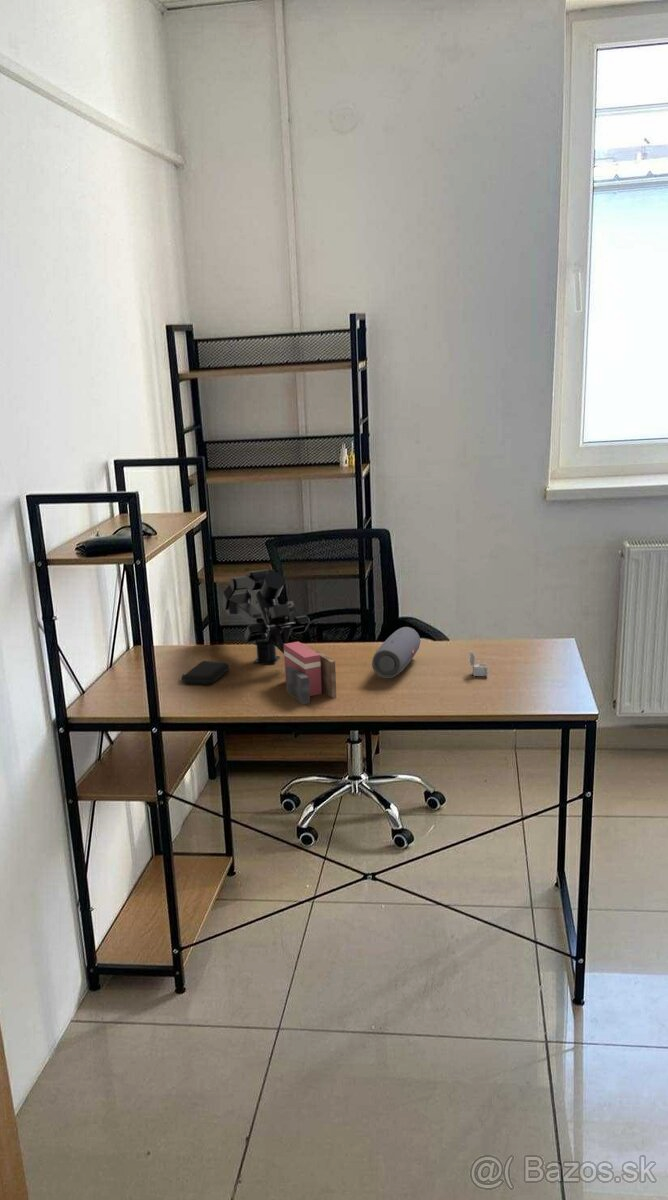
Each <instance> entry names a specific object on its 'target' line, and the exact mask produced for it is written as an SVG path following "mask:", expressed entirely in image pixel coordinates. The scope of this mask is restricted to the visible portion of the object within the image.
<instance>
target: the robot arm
mask: <svg viewBox="0 0 668 1200" xmlns="http://www.w3.org/2000/svg"><path fill="white" fill-rule="evenodd" d="M285 583H286V582H285V578H284V576H283V575H281V574H280V573H278V572H275V570H274V569H272V568H271V569H261V570H255V571H253V570H252V571H248V572H247V573H245V575H244V576H243V575H242V576H234V577H232V578H231V579H230V580H229V585H228V586H227V587H226V588H225V589H224V591H223V592H222V597H221V598H222V599H221V606H222V609H223V610H224V612H225V613H227V614H228V615H236V616H237V615H238V616H239V617H240V618H241V619H243V620H244V622H246V623H247V627H246V630H245V631H244V635H243V636H244V639H245V642H246V643H251V644H253V645H254V646H256V647H255V648H256V658H255V659H254V660H253V664H258V665H259V664H260V665H274V664H276V663H277V662H278V660H279V659H280V658H281V656H280V655H277V651H276V650H277V649H278V650H279V651H280V652H281V653H282V654H283V655H284V644H287V643H289V638H290V637H291V634H292V633H293V634H295V635H297V634H303V633H305V632H307V630H308V628H309V627H310V624H311V619H310V617H309V616H307V615H300V616H295V617H294V619H293V620H292V622H291V621H290V622H287V621H288V620H289V616H291V615H292V614H293V613H295V612H296V606H295V603H294V600H290V601H286V602H285V603H284V604H280V603H279V601H278V597H280V594H281V592H282V590H283V588H284V585H285ZM242 590H245V592H238V593H235V592H236V591H242ZM250 591H251V592H257V593H256V594H255V600H254V601H255V604H257V605H258V608H259V610H258V609H257V608H256V607H254V606H253V605H252V604H251V601H252V594H251V592H250ZM276 648H277V649H276Z"/></svg>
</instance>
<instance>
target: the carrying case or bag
mask: <svg viewBox="0 0 668 1200" xmlns="http://www.w3.org/2000/svg"><path fill="white" fill-rule="evenodd" d="M228 670H230V665H229V664H228V663H227V662H224V661H212V660H211V661H207V660H203V661H200V662H199V663H198V664H196V665H195V666H194V667H193V668H191V669H190V670H189V671H187V672H186V673H182V674H181V677H180V678H181V681H182V682H184V684H186V685H193V686H194V685H195V686H211V685H213V684H214V683H216V682H217V681H218V680H219V679H220V678H222V677H223V676H224V675H225V674H226V673H228Z"/></svg>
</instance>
